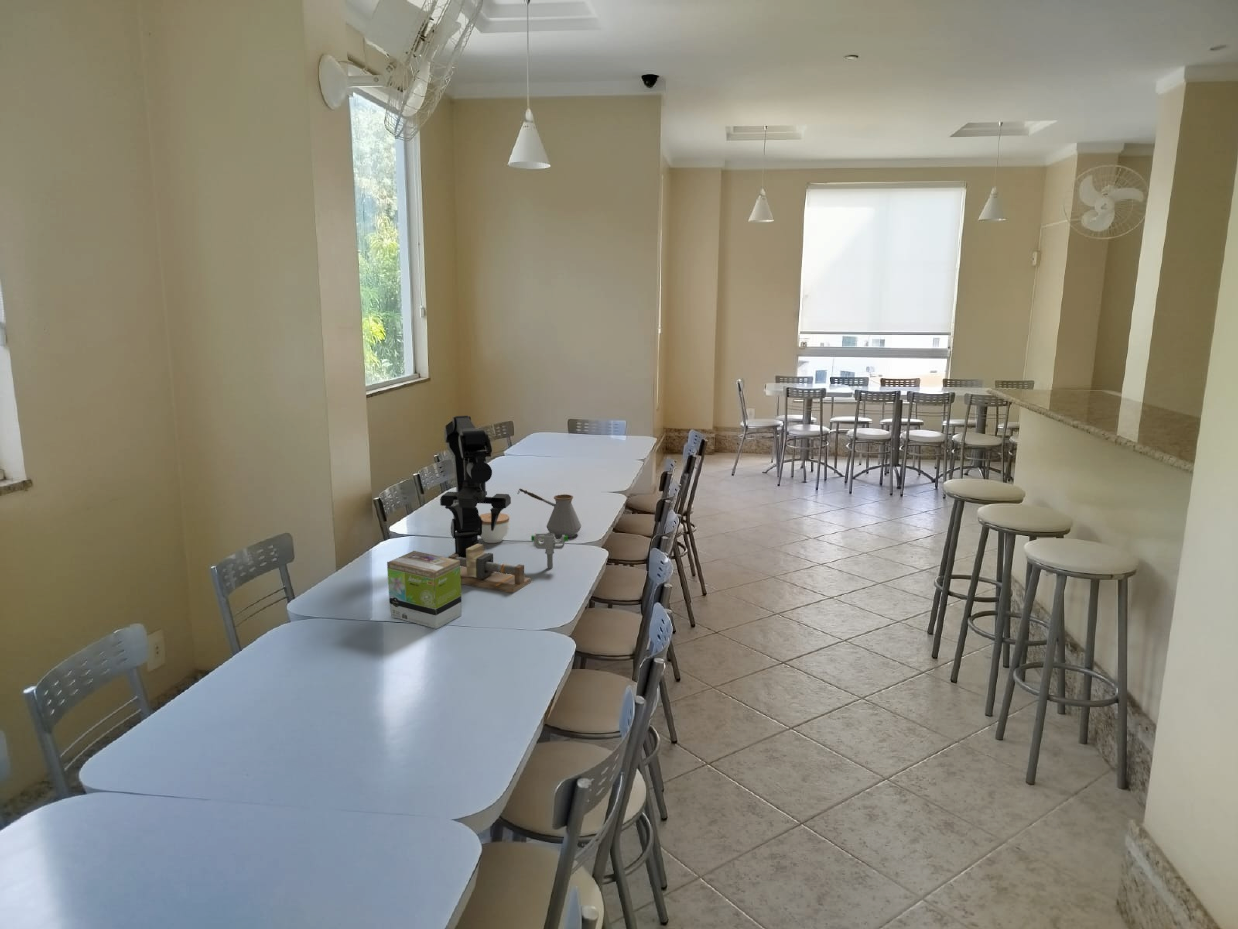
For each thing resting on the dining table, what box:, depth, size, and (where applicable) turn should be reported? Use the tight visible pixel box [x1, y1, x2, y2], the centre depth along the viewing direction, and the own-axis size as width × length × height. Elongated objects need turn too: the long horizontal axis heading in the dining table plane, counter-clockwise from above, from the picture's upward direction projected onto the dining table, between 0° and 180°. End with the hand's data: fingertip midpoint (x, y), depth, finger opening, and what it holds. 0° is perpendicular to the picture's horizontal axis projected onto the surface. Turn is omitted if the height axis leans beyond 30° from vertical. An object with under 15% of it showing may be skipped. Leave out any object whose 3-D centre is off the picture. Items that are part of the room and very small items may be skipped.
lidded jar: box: [479, 512, 510, 544], centre depth 255 cm, size 11×11×9 cm
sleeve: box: [466, 543, 488, 577], centre depth 219 cm, size 3×5×8 cm, turn 156°
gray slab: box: [477, 552, 494, 579], centre depth 218 cm, size 2×6×6 cm, turn 156°
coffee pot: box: [517, 488, 582, 539], centre depth 262 cm, size 21×12×15 cm, turn 80°
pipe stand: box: [448, 553, 532, 594], centre depth 218 cm, size 23×9×6 cm, turn 66°
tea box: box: [386, 550, 463, 630], centre depth 193 cm, size 15×10×15 cm
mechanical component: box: [531, 533, 568, 570], centre depth 229 cm, size 3×10×10 cm, turn 89°
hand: (476, 529), depth 222 cm, fingers open, 9 cm apart
